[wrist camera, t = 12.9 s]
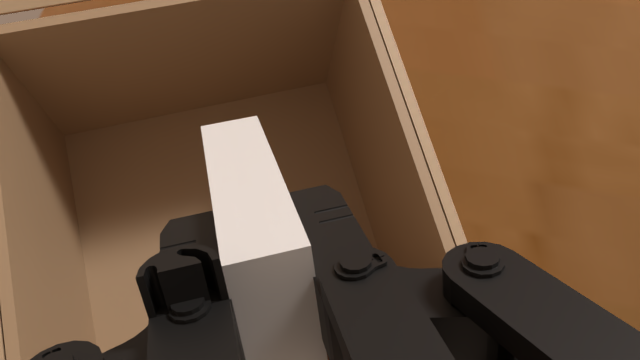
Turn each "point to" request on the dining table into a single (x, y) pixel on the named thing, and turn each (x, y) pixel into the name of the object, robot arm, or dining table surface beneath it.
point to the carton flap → (30, 5)
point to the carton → (191, 144)
